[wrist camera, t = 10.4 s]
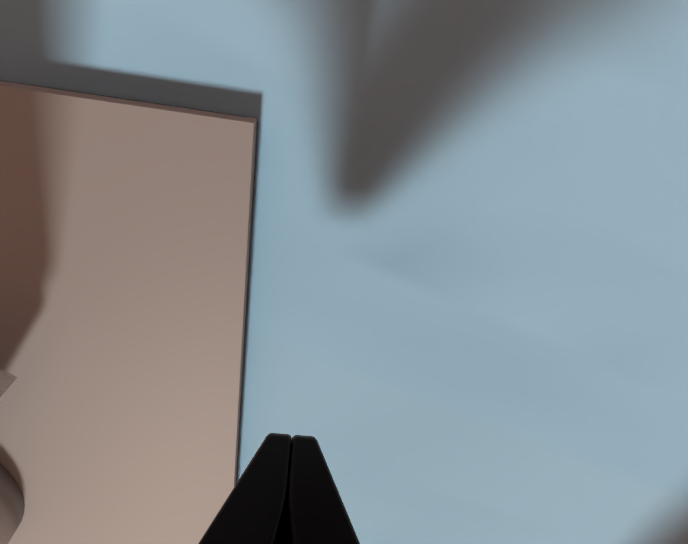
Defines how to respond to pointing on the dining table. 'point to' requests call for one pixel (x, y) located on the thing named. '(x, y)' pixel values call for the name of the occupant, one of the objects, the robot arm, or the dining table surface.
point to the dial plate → (120, 315)
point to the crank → (5, 384)
